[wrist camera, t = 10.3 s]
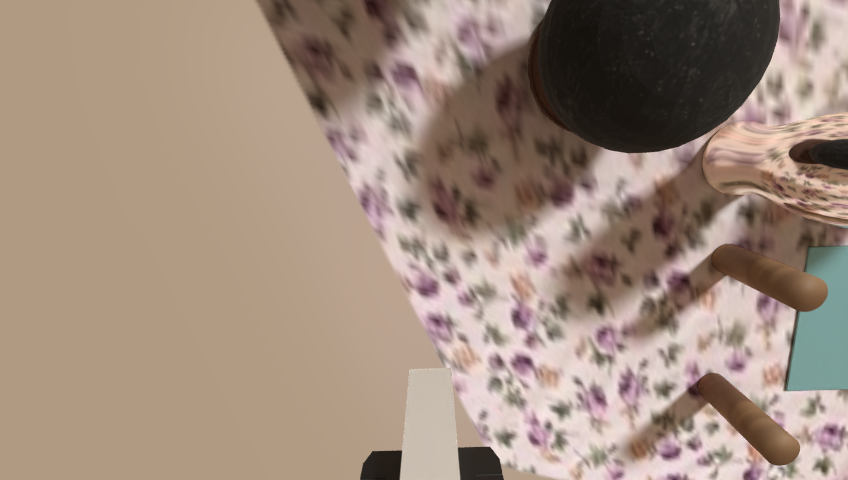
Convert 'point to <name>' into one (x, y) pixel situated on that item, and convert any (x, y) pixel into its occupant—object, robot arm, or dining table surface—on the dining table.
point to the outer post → (749, 420)
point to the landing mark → (823, 327)
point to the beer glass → (785, 165)
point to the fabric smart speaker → (649, 67)
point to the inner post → (771, 277)
